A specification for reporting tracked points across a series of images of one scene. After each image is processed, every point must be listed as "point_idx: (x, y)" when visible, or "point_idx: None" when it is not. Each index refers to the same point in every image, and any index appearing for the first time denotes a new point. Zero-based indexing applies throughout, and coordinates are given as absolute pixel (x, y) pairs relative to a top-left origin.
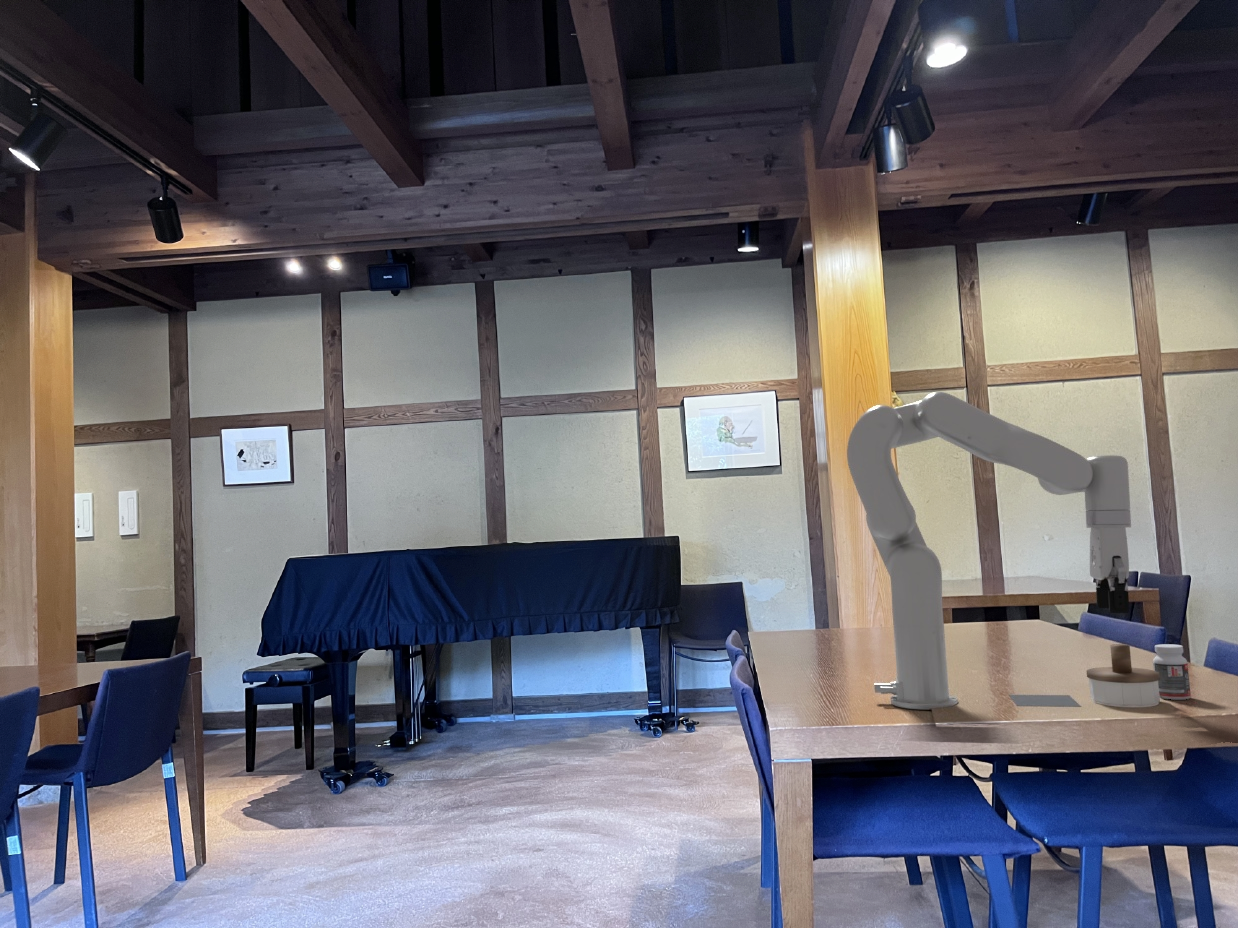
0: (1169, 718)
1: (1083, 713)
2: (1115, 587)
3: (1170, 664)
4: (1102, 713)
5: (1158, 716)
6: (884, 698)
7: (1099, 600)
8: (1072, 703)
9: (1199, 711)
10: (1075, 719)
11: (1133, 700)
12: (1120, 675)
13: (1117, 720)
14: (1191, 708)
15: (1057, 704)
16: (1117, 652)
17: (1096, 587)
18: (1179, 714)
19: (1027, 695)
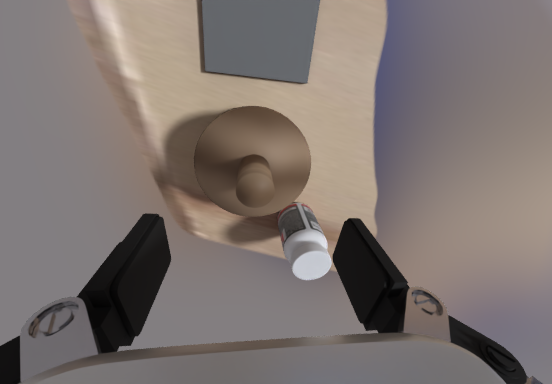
0: (159, 175)
1: (173, 63)
2: (16, 338)
3: (285, 242)
4: (179, 96)
5: (170, 167)
6: None
7: (355, 240)
8: (230, 63)
9: (211, 217)
10: (112, 27)
11: None
12: (215, 155)
13: (124, 102)
14: (229, 215)
15: (220, 28)
16: (239, 175)
17: (395, 281)
18: (189, 193)
19: None
